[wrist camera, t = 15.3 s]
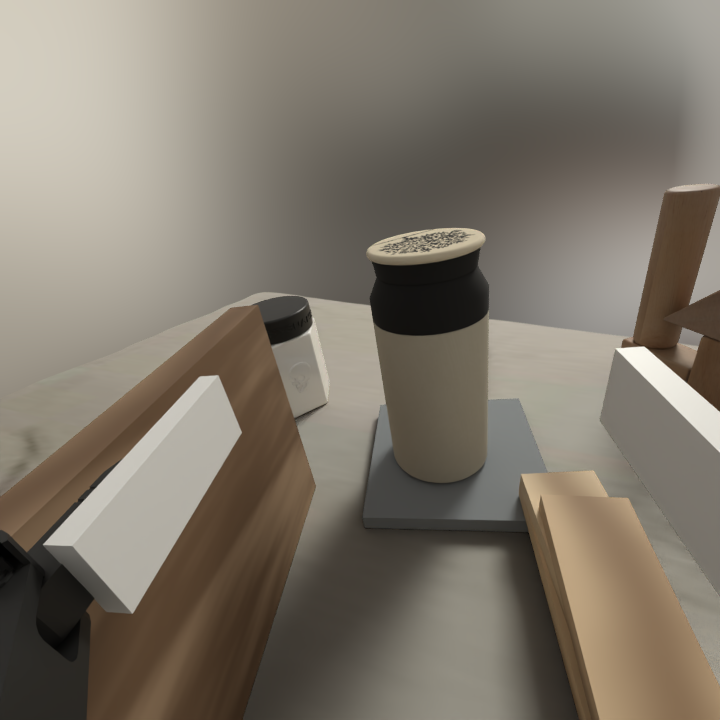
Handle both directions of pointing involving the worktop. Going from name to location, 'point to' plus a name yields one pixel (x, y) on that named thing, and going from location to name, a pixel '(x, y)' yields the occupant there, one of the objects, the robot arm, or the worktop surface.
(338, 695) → the worktop surface
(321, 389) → the jar
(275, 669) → the worktop surface
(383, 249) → the travel mug
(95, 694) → the wooden board
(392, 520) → the mat
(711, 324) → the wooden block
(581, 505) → the offcut stack
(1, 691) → the robot arm
